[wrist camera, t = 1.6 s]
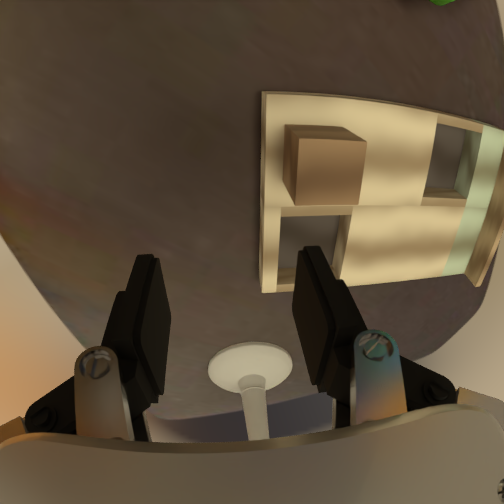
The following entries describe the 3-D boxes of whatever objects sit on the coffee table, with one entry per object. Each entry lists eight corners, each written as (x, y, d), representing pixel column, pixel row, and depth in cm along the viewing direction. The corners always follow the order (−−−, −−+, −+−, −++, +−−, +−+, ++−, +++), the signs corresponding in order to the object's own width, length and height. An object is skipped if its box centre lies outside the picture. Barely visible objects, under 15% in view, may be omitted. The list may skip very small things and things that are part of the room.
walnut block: (284, 124, 24) (299, 138, 20) (342, 126, 24) (367, 141, 20) (282, 180, 27) (294, 206, 23) (337, 180, 27) (358, 204, 23)
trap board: (261, 91, 25) (272, 98, 20) (494, 125, 27) (528, 141, 22) (258, 275, 36) (265, 312, 31) (457, 260, 38) (480, 286, 33)
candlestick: (298, 377, 49) (336, 549, 24) (225, 395, 50) (240, 562, 25) (281, 331, 42) (327, 555, 17) (194, 354, 43) (198, 566, 18)
